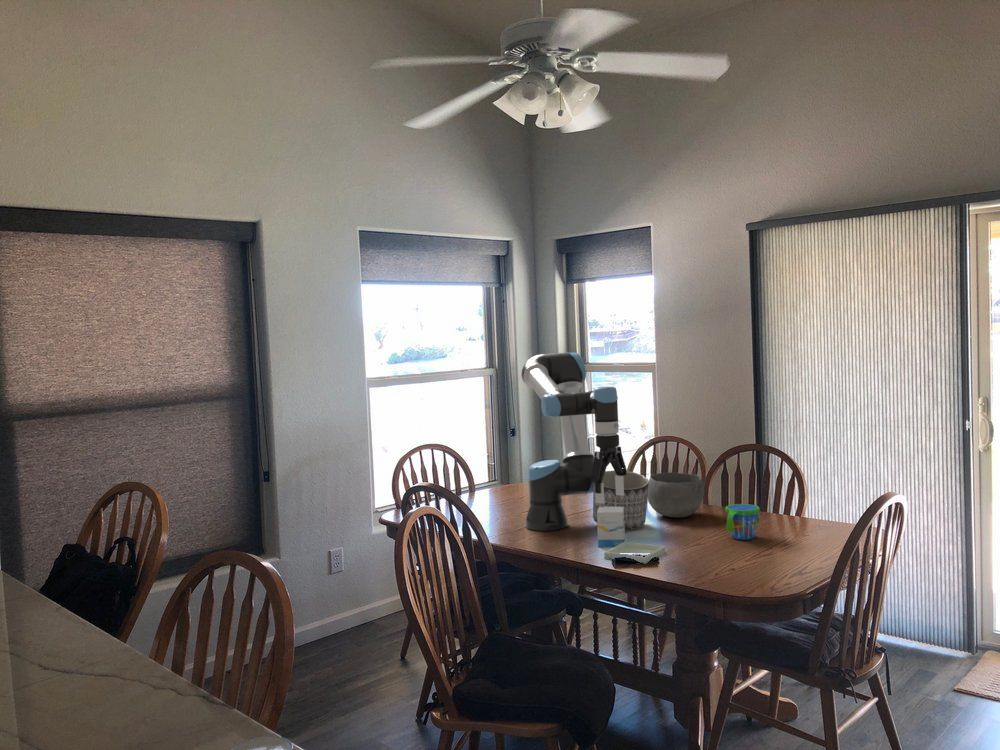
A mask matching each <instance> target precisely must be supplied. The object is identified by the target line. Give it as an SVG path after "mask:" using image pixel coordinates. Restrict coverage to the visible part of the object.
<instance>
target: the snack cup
mask: <svg viewBox="0 0 1000 750" xmlns="http://www.w3.org/2000/svg"><path fill="white" fill-rule="evenodd" d="M725 512H726V513H727V518H726V524H725V525H726V527H725V528H726V530H727V532H730V535H731V537H732V538H734V539H736V540H741V541H747V540H753V539H755V538H756V534H757V528H758V527H757V526H758V524H759V523H760V515H759V513H760V512H761V508H760V506H758V505H755V504H749V503H747V504H746V503H735V504H729V505H726V506H725Z"/></svg>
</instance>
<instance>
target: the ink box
mask: <svg viewBox="0 0 1000 750" xmlns="http://www.w3.org/2000/svg"><path fill="white" fill-rule="evenodd" d="M596 524H597V525H596V526H597V527H596V528H597V547H598V548H613V547H615V546H617V545H619V544H621V543H623V542H625V541H626V530H625V524H624V507H599V508H598V511H597V523H596Z"/></svg>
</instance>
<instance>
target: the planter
mask: <svg viewBox="0 0 1000 750" xmlns="http://www.w3.org/2000/svg"><path fill="white" fill-rule="evenodd" d="M616 475H617V474H616V473H615V471H614V470H606V471H605V474H604V477H603V480H602V483H603V484H604V503H603V504H602V503H596V497H595V483H593V493H592V494H593V495H592V519H593V521H594V522H595V523H596V524H597V511H598V508H599V507H624V524H625V531H626V530H629V531H630V530H635V529H639V528H640V527H642V526H643V525H645V524H646V520H647V509H648V507H647V506H648V498H647V497H648V485H649V479H648V478H647V477H646V476H644V475H643V474H640V473H637V472H633V471H628V470H627V472H626V475H623V480H624V496H621V495H616V487H615V476H616Z"/></svg>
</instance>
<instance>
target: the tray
mask: <svg viewBox="0 0 1000 750" xmlns="http://www.w3.org/2000/svg"><path fill="white" fill-rule="evenodd" d="M620 553H650V554H648V555H647V556H645V557H643V556H635V555H628V554H620ZM666 553H667V547H666V546H665V545H658V544H650V543H642V542H633V541H626V540H625V542H623V543H621V544H619V545H617V546H615V547H610V548H609V549H608V550H606V551H604V552H603V556H604V559H605V560H611V559H612V558H613V557H626V558H631V559H634V560H636V561H638V562H640V563H643V564H642V565H647V563H648V562H649V561H650V560H651V559H652V558H654V557H658V558H660V557H661V556H662V555H665V554H666ZM640 563H639V564H640ZM649 563H650V562H649ZM649 563H648V564H649Z"/></svg>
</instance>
